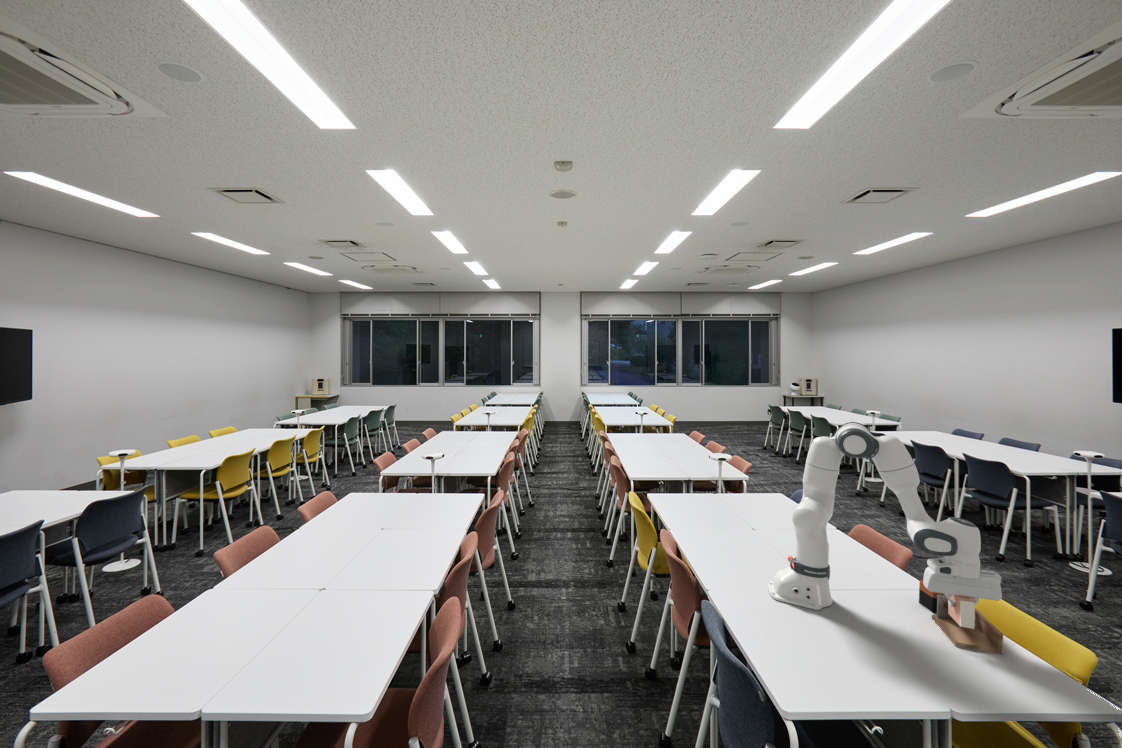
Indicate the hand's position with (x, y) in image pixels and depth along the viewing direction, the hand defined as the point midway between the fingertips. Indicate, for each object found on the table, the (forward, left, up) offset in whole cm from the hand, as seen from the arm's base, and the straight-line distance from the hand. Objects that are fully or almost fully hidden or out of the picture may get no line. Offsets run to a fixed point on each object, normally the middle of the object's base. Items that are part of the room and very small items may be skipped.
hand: (960, 607), depth 148 cm
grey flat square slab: (0, +7, -8) cm, 10 cm away
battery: (-2, +16, -10) cm, 19 cm away
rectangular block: (0, 0, -5) cm, 5 cm away
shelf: (+1, 0, -9) cm, 9 cm away
